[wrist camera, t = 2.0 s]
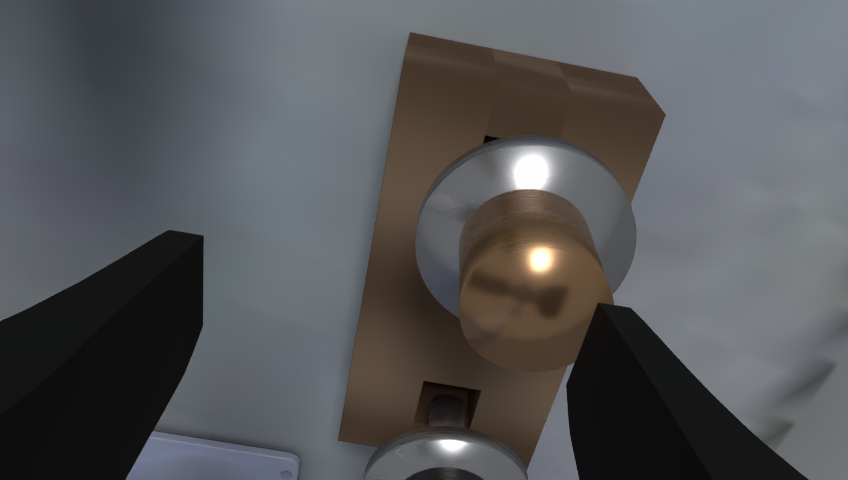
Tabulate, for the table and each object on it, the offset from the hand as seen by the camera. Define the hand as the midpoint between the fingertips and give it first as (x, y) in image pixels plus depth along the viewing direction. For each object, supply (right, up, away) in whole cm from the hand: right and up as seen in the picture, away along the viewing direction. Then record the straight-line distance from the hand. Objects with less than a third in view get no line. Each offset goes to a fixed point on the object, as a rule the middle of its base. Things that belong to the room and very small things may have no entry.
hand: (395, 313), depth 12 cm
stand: (+2, +1, +11) cm, 12 cm away
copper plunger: (+3, +3, +7) cm, 8 cm away
